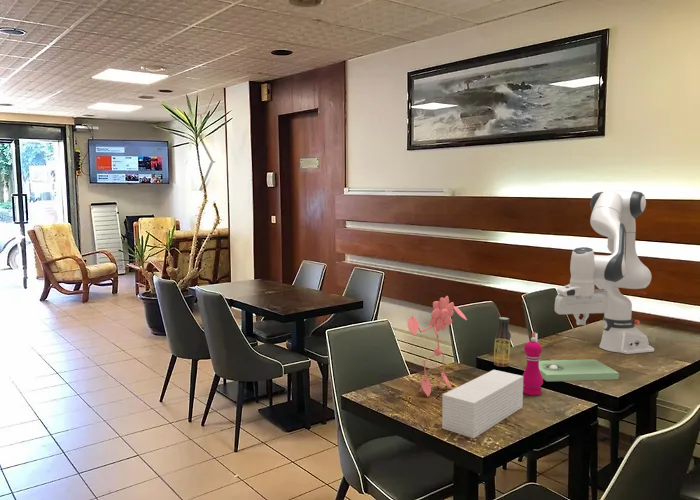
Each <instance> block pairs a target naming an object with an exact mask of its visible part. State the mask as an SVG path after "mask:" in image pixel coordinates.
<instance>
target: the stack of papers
mask: <svg viewBox="0 0 700 500" xmlns="http://www.w3.org/2000/svg"><path fill="white" fill-rule="evenodd" d="M523 386H524V384H523V375H520V374H515V373H511V372H506V371H501V370H496V369H492V370H490V371H488V372H487V373H484V374H482V375H480V376H478V377H475V378H474V379H472V380H470V381H467V382H465V383H463V384H461V385H459V386H457V387H455V388H452V389H450V390H449V391H447V392H445V393H443V394H442V395H441V396H442V397H441V398H442V405H441V406H442V409H441V411H442V412H441V416H442V417H441V418H442V420H441V421H442V423H441V424H442V426H441V428H442V429H443V430H447V431H450V432H453V433H457V434H459V435H461V436H465V437H467V438H471V439H474V438H476V437H478V436H480V435H481V434H482V433H484V432H486V431H488V430H489V429H490V428H492V427H494V426H495V425H497V424H498V423H501V421H503V420H505V419H506V418H508V417H510V416H511V415H513V414H514V413H515V412H518V410H520V409H522V408H523V407H524V406H523V404H524V403H523V402H524V401H523V400H524V392H523Z"/></svg>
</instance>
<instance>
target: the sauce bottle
mask: <svg viewBox="0 0 700 500" xmlns="http://www.w3.org/2000/svg"><path fill="white" fill-rule="evenodd" d="M509 324H510V318H509V317H506V316H505V317H503V316H501V317H498V328H497V329H496V332H495V337H494V348H493V351H494V352H493V365H494V366H496V367H499V368H507V367H509V365H510V357H511V356H510V353H511V337H512V336H511V332H510V330H509Z"/></svg>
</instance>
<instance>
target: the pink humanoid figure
mask: <svg viewBox="0 0 700 500" xmlns="http://www.w3.org/2000/svg"><path fill="white" fill-rule="evenodd" d="M432 308H433V310H432V311H431V313H430V317H431V318H430V321H429V325H430V326H428V327H426V328H423V329H422V330H421V328H420V327H419V326H420V325H419V321H418V320H417V318H416V317H414V316H413V315H411V316H410V317H409V318H408V321H407V328H408V330H409V331H410V333H411V334H412V335H413V336H415V335H416V334H417V333H418V332H420V333H421V334H422V333H423V332H425V331H427V330H428V329H430V328H433V330H434V333H435V335H436V341H437V342H436V343H437V347H436V348H435V349H434V350H433V354H432V355H430V356H429V357H428V358H426V359H424V360H423V369H424V371H423V372H424V376H423V377H422V378H421V386H420V389H419V391H418V392H419V393H421V392H422V390H423V392H424V394H425V395H426V396H427V398H429V397H430V394H431V392H432V383H431V382H430V380H429V378H428V377H427V373H426V372H427V371H426V361H427V360H429V359H431V358H433V357H435V356H440V355H442V371H441V372H440V374H441V376H440V379H439V381H438V382H437V384H436V387H437V388H439V385H440V384H441V381H442V380H443V382H444V383H445V384H446V386H447V387H448V388H449V389H450V390H452V386H451V383H450V381H449V380H450V379H448V377H447V375H446V374H445V361H444V359H445V356H444V354H443V352H442V349H441V348H440V339H439V335H438V333H437V332H440V331H445V330H446V328H447V326H451V325H452V323H453V319H452V318H451V317H452V316H453V315H454V313H455V312H456V314H457V315H458V316H459V317H460V318H462V319H463V320H465V321H468V319H467V317H466V315H465V314H464V313H463V312H462V311H461V310H460V309H459V307H457V306H455V304H454V302H453V301H452V302H450V299H449V296H448V295H446V296H445V297H440V298H439V300H438V301H437V300H436V301H433V302H432ZM406 395H407V396H409V394H407V393H406Z"/></svg>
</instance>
